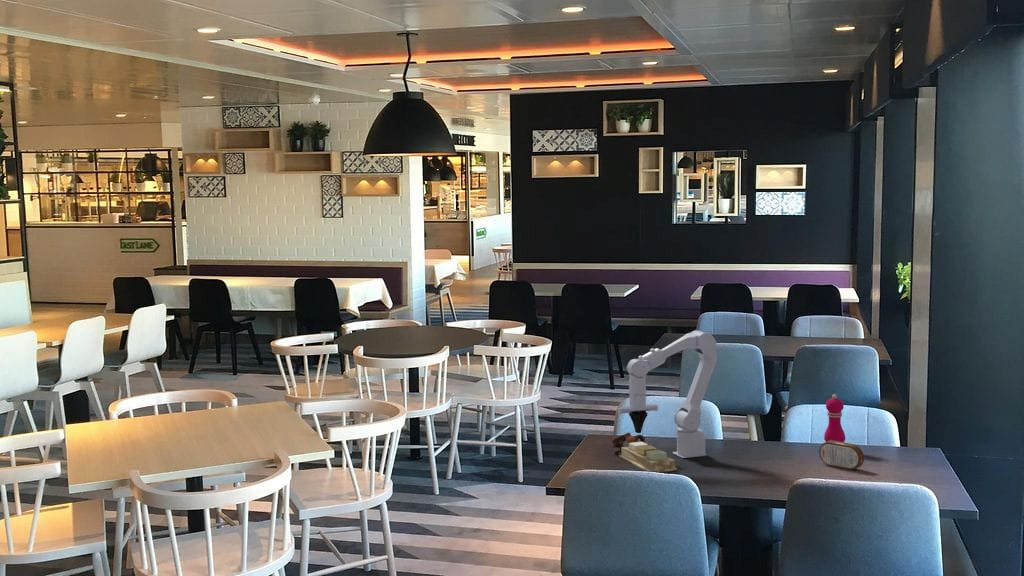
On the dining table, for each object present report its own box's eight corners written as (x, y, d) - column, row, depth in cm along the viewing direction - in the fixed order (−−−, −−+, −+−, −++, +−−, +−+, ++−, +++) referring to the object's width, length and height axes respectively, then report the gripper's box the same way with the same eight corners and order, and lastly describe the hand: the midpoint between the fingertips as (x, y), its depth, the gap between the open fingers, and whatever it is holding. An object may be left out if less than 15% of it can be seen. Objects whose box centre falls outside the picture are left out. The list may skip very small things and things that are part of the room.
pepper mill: (822, 451, 353) (822, 395, 351) (826, 446, 359) (826, 391, 358) (843, 453, 350) (843, 396, 348) (847, 448, 356) (847, 393, 354)
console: (645, 454, 354) (645, 444, 354) (677, 470, 331) (677, 460, 331) (619, 457, 351) (619, 447, 351) (649, 473, 328) (649, 463, 328)
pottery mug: (625, 459, 351) (615, 437, 353) (616, 465, 359) (605, 444, 361) (653, 446, 355) (642, 425, 357) (643, 452, 364) (633, 432, 366)
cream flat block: (650, 452, 344) (650, 445, 344) (657, 455, 339) (657, 448, 339) (637, 454, 343) (637, 446, 342) (643, 457, 338) (643, 449, 338)
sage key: (659, 456, 338) (659, 449, 337) (666, 460, 333) (666, 452, 333) (646, 458, 336) (646, 451, 336) (653, 461, 331) (653, 454, 331)
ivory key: (641, 448, 351) (641, 441, 351) (648, 451, 346) (648, 444, 346) (628, 450, 349) (628, 442, 349) (635, 453, 345) (634, 445, 344)
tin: (864, 470, 326) (864, 445, 325) (859, 472, 324) (859, 446, 323) (822, 462, 337) (822, 438, 336) (817, 464, 335) (817, 439, 334)
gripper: (623, 397, 340) (624, 436, 341) (661, 394, 345) (662, 432, 346) (614, 394, 347) (615, 432, 348) (652, 390, 351) (653, 428, 352)
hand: (638, 432), depth 347 cm, fingers closed
